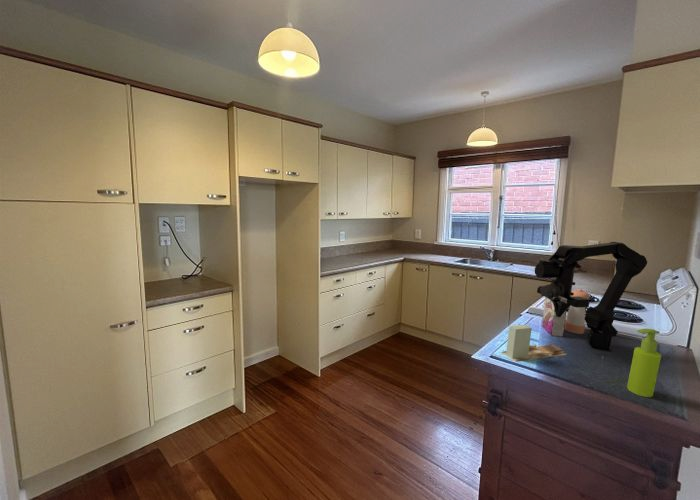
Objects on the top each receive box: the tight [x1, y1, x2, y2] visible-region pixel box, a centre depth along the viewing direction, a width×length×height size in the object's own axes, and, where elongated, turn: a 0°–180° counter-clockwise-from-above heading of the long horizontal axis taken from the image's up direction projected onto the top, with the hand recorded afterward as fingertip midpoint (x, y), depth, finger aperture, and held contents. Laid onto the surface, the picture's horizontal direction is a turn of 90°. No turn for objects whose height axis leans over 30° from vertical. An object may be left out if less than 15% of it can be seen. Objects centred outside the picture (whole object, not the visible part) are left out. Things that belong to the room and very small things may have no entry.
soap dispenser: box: [626, 328, 662, 398], centre depth 95 cm, size 6×7×20 cm
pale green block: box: [505, 323, 533, 360], centre depth 114 cm, size 7×3×11 cm, turn 106°
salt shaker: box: [564, 288, 590, 335], centre depth 140 cm, size 7×7×19 cm
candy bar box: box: [541, 297, 568, 338], centre depth 139 cm, size 11×5×16 cm, turn 168°
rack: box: [500, 344, 567, 363], centre depth 117 cm, size 24×7×2 cm, turn 106°
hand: (558, 316), depth 124 cm, fingers closed
